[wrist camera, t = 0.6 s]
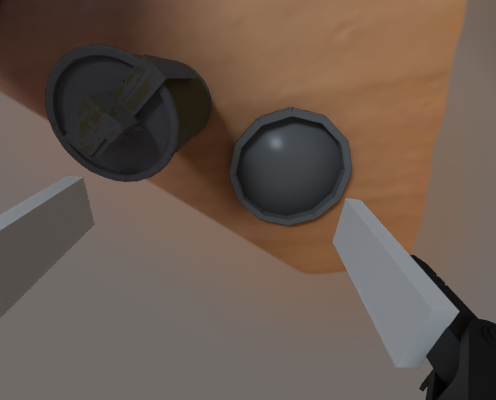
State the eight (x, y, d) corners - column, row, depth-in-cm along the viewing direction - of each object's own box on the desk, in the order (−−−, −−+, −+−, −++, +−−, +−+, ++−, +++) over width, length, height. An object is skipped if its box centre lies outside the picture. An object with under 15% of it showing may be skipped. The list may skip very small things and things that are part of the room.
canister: (179, 153, 38) (114, 218, 20) (123, 100, 35) (-13, 122, 17) (228, 102, 35) (203, 128, 17) (172, 38, 32) (66, -14, 14)
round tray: (208, 171, 40) (206, 175, 38) (291, 79, 33) (293, 79, 32) (285, 235, 45) (287, 242, 43) (369, 166, 39) (375, 170, 37)
